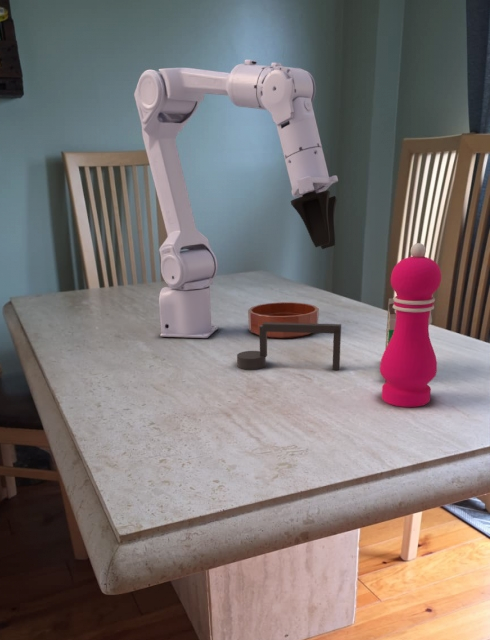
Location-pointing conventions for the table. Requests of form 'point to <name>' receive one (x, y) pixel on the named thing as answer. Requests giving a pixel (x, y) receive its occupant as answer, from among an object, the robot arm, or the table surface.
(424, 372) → the pepper mill
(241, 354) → the dark grey bent bar
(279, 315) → the bowl
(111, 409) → the table surface
